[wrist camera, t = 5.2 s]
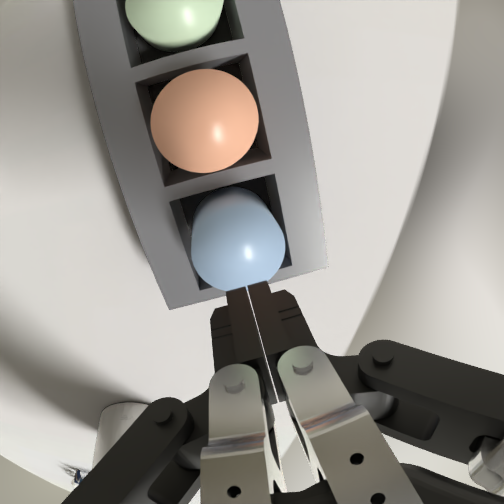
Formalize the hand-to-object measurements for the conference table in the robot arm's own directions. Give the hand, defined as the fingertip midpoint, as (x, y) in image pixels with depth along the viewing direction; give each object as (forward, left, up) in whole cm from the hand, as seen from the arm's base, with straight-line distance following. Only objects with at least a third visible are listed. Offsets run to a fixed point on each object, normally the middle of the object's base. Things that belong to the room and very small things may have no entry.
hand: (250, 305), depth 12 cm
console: (+5, +3, -10) cm, 12 cm away
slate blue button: (0, 0, -8) cm, 8 cm away
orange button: (+5, +3, -8) cm, 10 cm away
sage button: (+11, +6, -9) cm, 16 cm away
